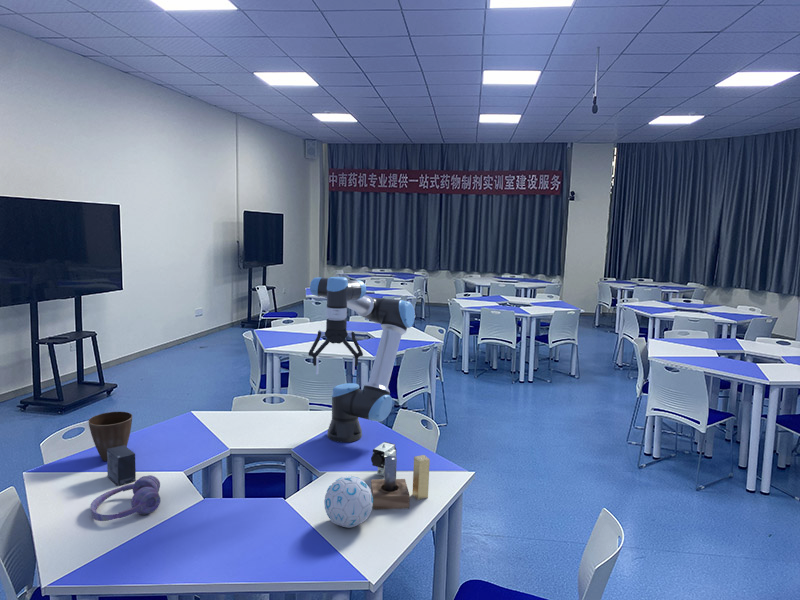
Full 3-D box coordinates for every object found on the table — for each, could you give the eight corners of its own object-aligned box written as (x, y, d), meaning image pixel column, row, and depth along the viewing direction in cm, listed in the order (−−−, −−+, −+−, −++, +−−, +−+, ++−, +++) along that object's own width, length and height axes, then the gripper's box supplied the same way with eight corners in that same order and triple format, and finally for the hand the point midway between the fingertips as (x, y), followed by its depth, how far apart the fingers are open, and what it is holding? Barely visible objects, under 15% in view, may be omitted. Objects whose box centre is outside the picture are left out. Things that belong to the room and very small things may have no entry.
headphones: (162, 489, 188) (97, 507, 181) (157, 467, 186) (91, 485, 179) (162, 515, 171) (91, 537, 164) (157, 491, 170) (85, 512, 162)
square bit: (412, 494, 192) (414, 456, 190) (422, 492, 194) (424, 454, 192) (417, 499, 188) (419, 461, 186) (428, 497, 190) (429, 459, 188)
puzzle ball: (328, 510, 179) (329, 466, 177) (374, 512, 179) (375, 469, 177) (320, 536, 164) (320, 489, 162) (370, 538, 164) (371, 491, 162)
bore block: (370, 491, 193) (371, 479, 192) (404, 490, 194) (404, 478, 194) (373, 509, 181) (373, 496, 180) (409, 508, 182) (409, 495, 182)
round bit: (383, 494, 189) (384, 455, 187) (394, 494, 190) (396, 455, 188) (384, 500, 185) (385, 460, 183) (396, 499, 186) (397, 460, 184)
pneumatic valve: (369, 478, 202) (370, 447, 201) (385, 467, 213) (386, 437, 211) (382, 482, 200) (384, 451, 198) (398, 470, 210) (399, 440, 208)
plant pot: (95, 469, 201) (93, 428, 199) (86, 456, 212) (84, 416, 210) (138, 459, 211) (137, 419, 209) (127, 446, 222) (126, 408, 220)
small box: (137, 481, 194) (136, 452, 193) (118, 487, 189) (116, 458, 188) (125, 471, 201) (124, 443, 200) (106, 476, 197) (105, 448, 195)
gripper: (302, 319, 198) (301, 376, 201) (370, 320, 202) (369, 376, 204) (303, 316, 206) (302, 371, 209) (369, 317, 209) (367, 371, 212)
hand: (335, 374), depth 207 cm, fingers open, 13 cm apart
